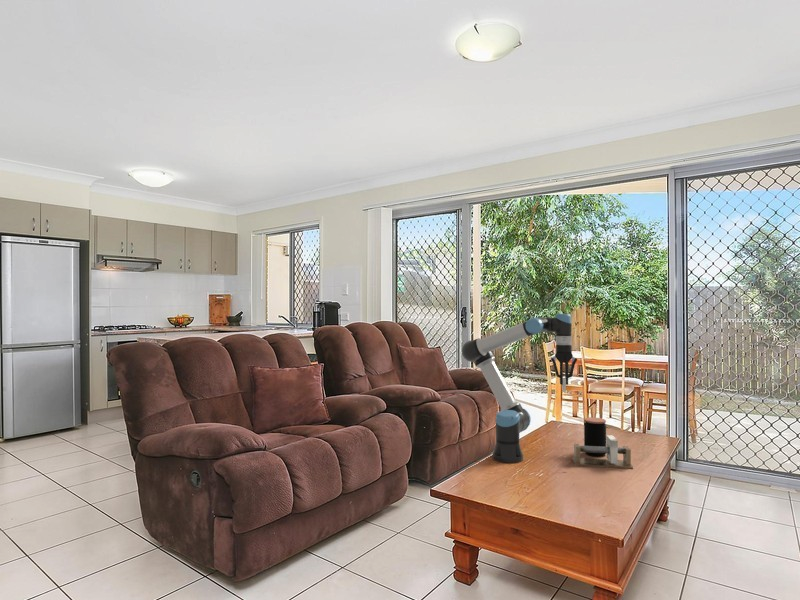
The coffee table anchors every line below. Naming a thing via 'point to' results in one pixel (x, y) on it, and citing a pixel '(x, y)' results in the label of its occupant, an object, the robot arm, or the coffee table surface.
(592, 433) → the coffee jar
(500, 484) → the coffee table surface
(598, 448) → the rail
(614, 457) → the collar
